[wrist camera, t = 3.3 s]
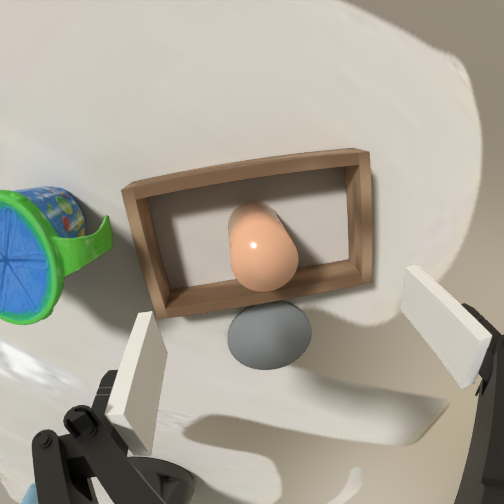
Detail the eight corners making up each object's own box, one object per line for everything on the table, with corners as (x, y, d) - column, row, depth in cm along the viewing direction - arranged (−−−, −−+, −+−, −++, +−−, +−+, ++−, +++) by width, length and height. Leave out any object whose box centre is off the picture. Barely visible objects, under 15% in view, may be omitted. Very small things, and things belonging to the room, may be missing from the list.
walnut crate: (357, 266, 32) (371, 282, 29) (163, 299, 31) (157, 319, 28) (353, 148, 27) (369, 151, 24) (132, 182, 27) (121, 190, 24)
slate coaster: (311, 358, 36) (312, 361, 36) (235, 371, 36) (235, 375, 35) (308, 293, 33) (309, 296, 32) (220, 308, 32) (220, 311, 32)
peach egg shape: (281, 245, 30) (300, 285, 23) (232, 253, 30) (237, 296, 23) (275, 197, 29) (295, 224, 21) (224, 205, 28) (226, 236, 21)
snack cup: (127, 168, 26) (82, 192, 17) (130, 276, 30) (99, 339, 21) (-5, 172, 24) (-70, 197, 15) (6, 266, 28) (-44, 312, 19)
